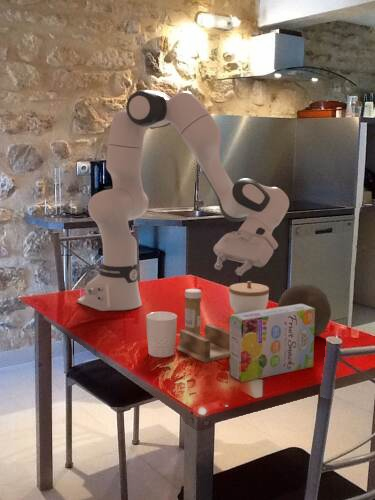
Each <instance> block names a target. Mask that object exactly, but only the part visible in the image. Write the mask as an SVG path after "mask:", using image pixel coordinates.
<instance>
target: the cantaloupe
mask: <svg viewBox="0 0 375 500" xmlns="http://www.w3.org/2000/svg"><path fill="white" fill-rule="evenodd" d="M277 303H278V304H277V307H283V306H290V305H296V304H304V305H307V306H310V307H312V308H315V322H314V338H315V337H317V336H319V335H322V334H323V333H324V332H325V331H326V330H327V329H328V326H329V323H330V320H331V319H330V318H331V316H332V315H331V314H332V311H331V305H330V302H329V300H328V297H327V295H326V294H325V292H323V290H321V289H320V287H317V286H315V285H313V284H295V285H292V286H290V287H288V288H287V289H286V290H285V291H284V292H283V293H282V294H281V296H280V298H279V300H278V302H277Z"/></svg>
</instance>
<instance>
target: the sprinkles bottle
mask: <svg viewBox="0 0 375 500" xmlns="http://www.w3.org/2000/svg"><path fill="white" fill-rule="evenodd" d="M184 298H185V299H184V300H185V301H184V303H185V304H184V306H185V307H184V325H185V326H184V327H185V328H184V329H185V330H187V331H189V332H192V333H194V334H196V335H199V336H201V337H202V335H201V320H202V319H201V312H202V311H201V298H202V290H201V289H198V288H188V289H187V288H186V289H185V291H184Z"/></svg>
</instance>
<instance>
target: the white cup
mask: <svg viewBox="0 0 375 500" xmlns="http://www.w3.org/2000/svg"><path fill="white" fill-rule="evenodd" d="M145 321H146V322H145V323H146V335H147V336H146V340H147V344H148V345H147V346H148V348H147V349H148V355H149V356H151V357H154V358H168V357H173V355H174V354H175V348H176V341H177V340H176V339H177V326H178V325H177V323H178V322H177V321H178V315H177V314H176V313H174V312H170V311H153V312H150V313H148V314H146V315H145Z"/></svg>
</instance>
